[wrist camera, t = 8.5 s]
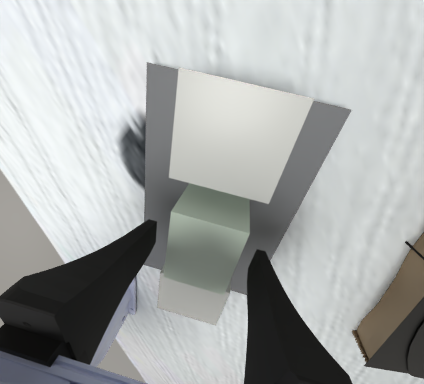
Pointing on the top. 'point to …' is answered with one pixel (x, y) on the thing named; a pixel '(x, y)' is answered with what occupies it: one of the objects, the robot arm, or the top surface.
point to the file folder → (398, 321)
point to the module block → (206, 237)
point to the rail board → (259, 212)
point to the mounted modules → (227, 157)
